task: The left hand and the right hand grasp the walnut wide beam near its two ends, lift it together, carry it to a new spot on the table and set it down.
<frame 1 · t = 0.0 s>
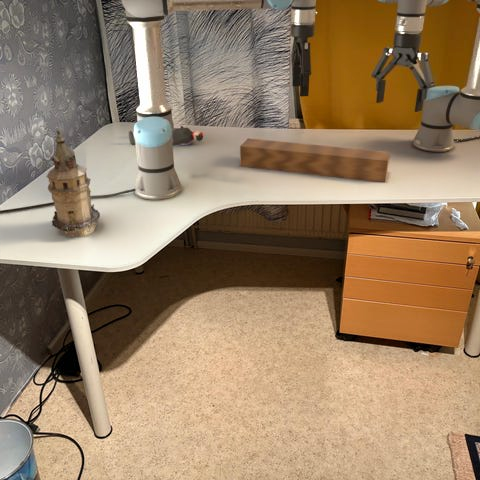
left hand: (300, 91, 180), 28 cm above the table, tool pointing down, fingers open, 13 cm apart
right hand: (398, 106, 162), 28 cm above the table, tool pointing down, fingers open, 13 cm apart
miniature building: (78, 229, 156), on the table
toy: (168, 142, 220), on the table
wide beam: (312, 169, 193), on the table
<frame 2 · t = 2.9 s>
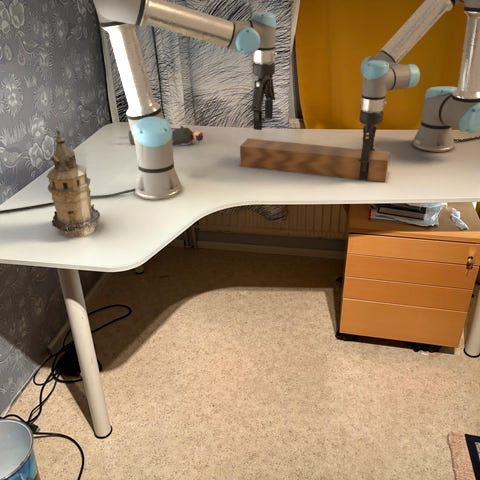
left hand: (263, 123, 191), 15 cm above the table, tool pointing down, fingers open, 13 cm apart
right hand: (364, 173, 188), 0 cm above the table, tool pointing down, fingers closed on wide beam, 9 cm apart
wide beam: (312, 169, 193), on the table, touching right hand
everything else where it was.
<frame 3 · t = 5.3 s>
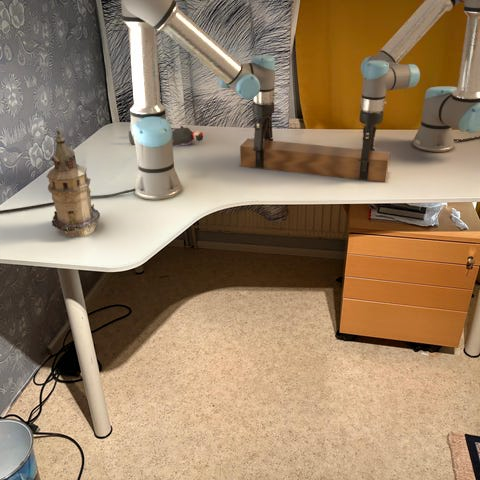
left hand: (263, 162, 198), 0 cm above the table, tool pointing down, fingers closed on wide beam, 9 cm apart
right hand: (364, 173, 188), 0 cm above the table, tool pointing down, fingers closed on wide beam, 9 cm apart
wide beam: (312, 169, 193), on the table, touching left hand, right hand
everything else where it was.
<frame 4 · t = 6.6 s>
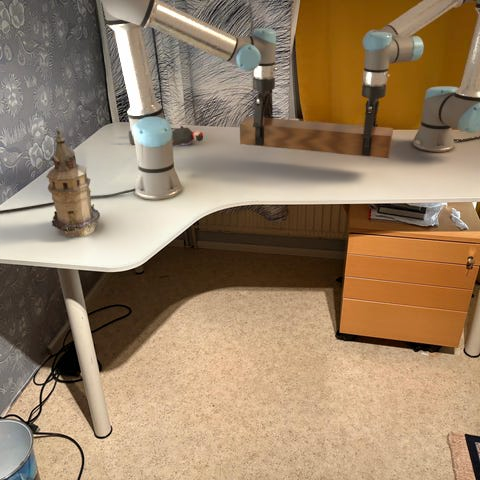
left hand: (263, 140, 194), 9 cm above the table, tool pointing down, fingers closed on wide beam, 9 cm apart
right hand: (367, 150, 183), 9 cm above the table, tool pointing down, fingers closed on wide beam, 9 cm apart
wide beam: (313, 146, 189), point 8 cm above the table, touching left hand, right hand
everything else where it was.
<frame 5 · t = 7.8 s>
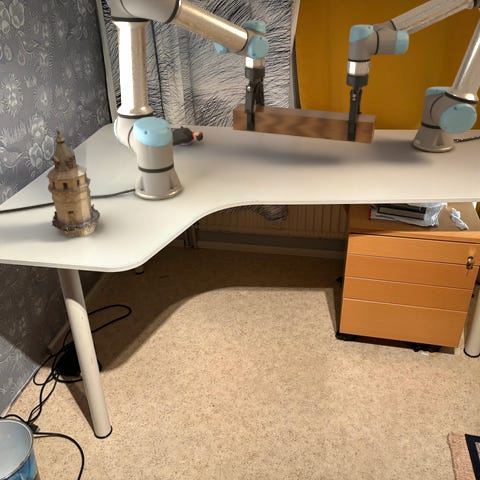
left hand: (254, 126, 206), 10 cm above the table, tool pointing down, fingers closed on wide beam, 9 cm apart
right hand: (352, 136, 195), 9 cm above the table, tool pointing down, fingers closed on wide beam, 9 cm apart
wide beam: (302, 132, 201), point 9 cm above the table, touching left hand, right hand
everything else where it was.
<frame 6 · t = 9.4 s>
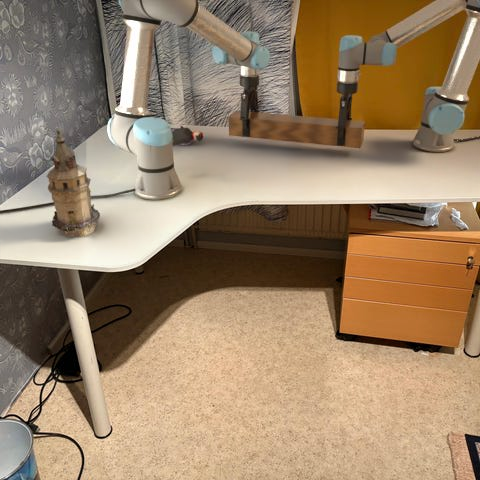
left hand: (249, 132, 216), 5 cm above the table, tool pointing down, fingers closed on wide beam, 9 cm apart
right hand: (342, 141, 205), 5 cm above the table, tool pointing down, fingers closed on wide beam, 9 cm apart
wide beam: (294, 138, 211), point 4 cm above the table, touching left hand, right hand
everything else where it was.
when the left hand's fingers open (1 cm above the table, at t = 10.5 s): wide beam stays where it is, on the table.
when the right hand's fingers open (1 cm above the table, at t = 10.5 s): wide beam stays where it is, on the table.
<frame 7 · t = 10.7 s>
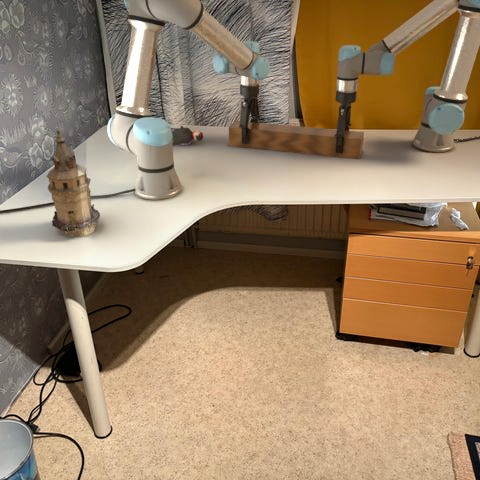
left hand: (249, 138, 217), 2 cm above the table, tool pointing down, fingers open, 11 cm apart
right hand: (341, 147, 206), 2 cm above the table, tool pointing down, fingers open, 11 cm apart
wide beam: (294, 148, 213), on the table
everything else where it was.
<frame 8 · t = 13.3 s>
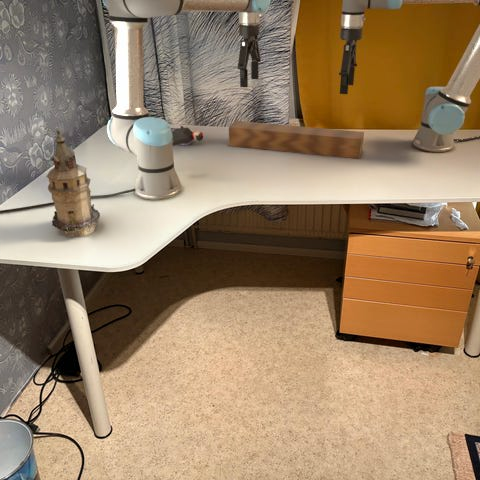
left hand: (249, 83, 206), 24 cm above the table, tool pointing down, fingers open, 13 cm apart
right hand: (346, 89, 195), 24 cm above the table, tool pointing down, fingers open, 13 cm apart
nothing on the table moved.
at the end: wide beam inside the target area (0.1 cm from its centre), on the table; wide beam tilted 0°; wide beam never tilted more than 1° during the clip; both hands held the wide beam at the same time; the left hand is holding nothing; the right hand is holding nothing; wide beam at rest at the end (0.0 cm/s) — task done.
